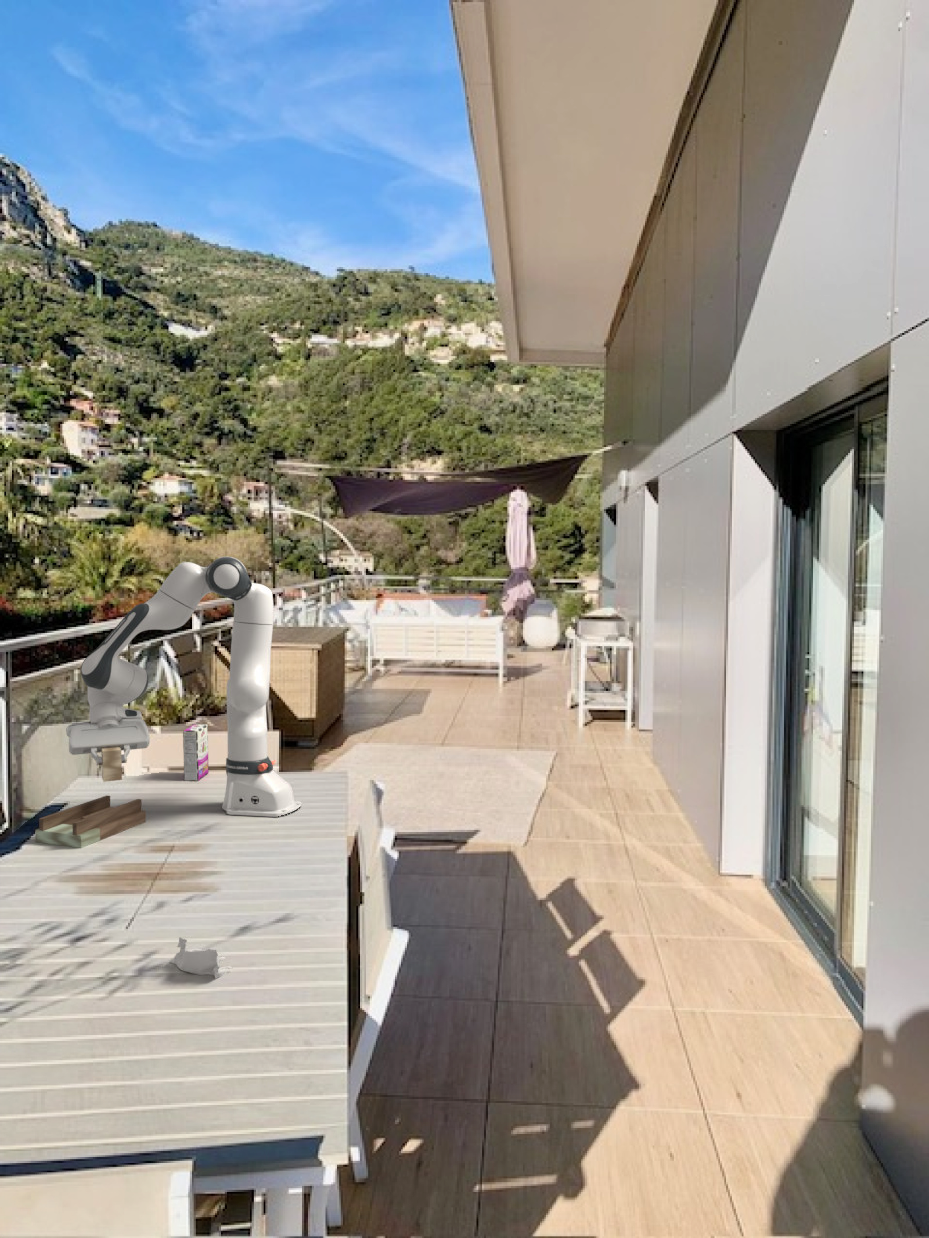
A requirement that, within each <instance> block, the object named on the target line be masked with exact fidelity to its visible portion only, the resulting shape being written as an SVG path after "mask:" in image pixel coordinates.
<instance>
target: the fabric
mask: <svg viewBox="0 0 929 1238" xmlns="http://www.w3.org/2000/svg"><path fill="white" fill-rule="evenodd" d="M187 943H188V940H187V939H185V938H183V937H179V938H178V944H177V946H176V947H177V948H180V950H179V951H178V952H176V954H175V955H174V957H173V958H172V959H170V960H169V963H170V964H172V965H176V967H178V968H179V970H181V971H183V972H187V973H190V974H192V975H199V976H203V975H204V976H205V975H206V976H207V975H209V976H210V975H212V976H214V979H218V978H219V977H222V976H225V974H227V973H230V970H231V969H233V967H232V966H231V965H227V966H222V967H221V966H220V962H221V961H224V960H225V959H226V957H225V956H221V957H219V954H218V952H217V949H210V948H208V949H206V950H203V949H201V948H200V949H199V948H193V949H187V945H188V944H187ZM227 969H228V970H227ZM229 969H230V970H229Z"/></svg>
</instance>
